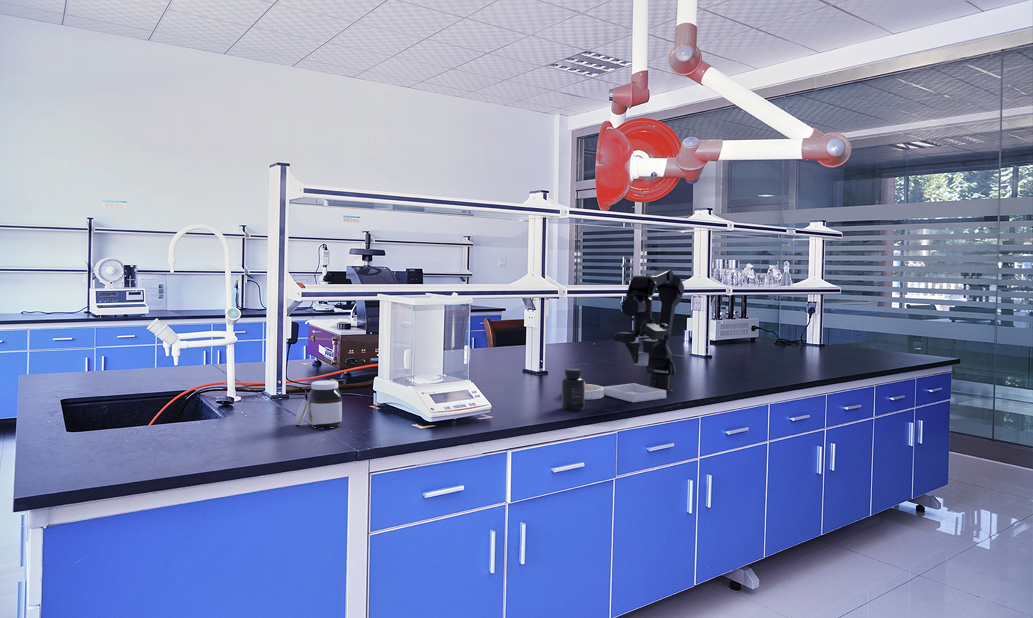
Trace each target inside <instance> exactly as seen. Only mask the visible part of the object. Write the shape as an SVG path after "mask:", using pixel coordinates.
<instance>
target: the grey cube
mask: <svg viewBox="0 0 1033 618" xmlns="http://www.w3.org/2000/svg"><path fill="white" fill-rule="evenodd" d="M648 359H649V353H648V352H644V351H638V363H637V364H635V363H634V366H639V367H646V366H648Z"/></svg>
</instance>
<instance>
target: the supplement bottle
mask: <svg viewBox="0 0 1033 618" xmlns="http://www.w3.org/2000/svg"><path fill="white" fill-rule="evenodd" d="M564 376H565V377H564V378H563V379H562V380H561V408H562V410H563V411H568V412H569V411H570V412H579V411H583V410H584V409H585V399H584V382H585V380H584V379H583V378H582V377H581V376H582V369H581V368H565V370H564Z"/></svg>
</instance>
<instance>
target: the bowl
mask: <svg viewBox="0 0 1033 618" xmlns="http://www.w3.org/2000/svg"><path fill="white" fill-rule="evenodd" d="M603 387H604V386H601V385H598V384H591V383H590V384H589V383H585V391H584V400H598V399H602V398H604V397H605V395H604V388H603Z"/></svg>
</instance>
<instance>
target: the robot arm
mask: <svg viewBox="0 0 1033 618" xmlns="http://www.w3.org/2000/svg"><path fill="white" fill-rule="evenodd" d="M656 291H657V293H658V298H659V301H660V303H661V306H660V312H659V317H658V318H659V320H658V324H656V321H655V317H654V318H652V311H653V310H652V309H653V300H654V297H653V295H654V294H655V292H656ZM684 293H685V286H684V284H683V281H682V280H681V278H679V277H678V276H677V275H676V274H674V272H673V270H670V269H658V270H656V271H655V272H652V273H649V274H647V275H633V277H632V279H630V282H629V285H628V289H627V291H626V295H625V296H626V297H627V298H626V299H624V300H623V301H622V304H621V306H620V307H621V308H620V309H621V311H622V313H623V314H624V315H625V316H627V317H630V321H631V322H633V324H632V330H631V329H630V332H627V331H619V332H618V331H617V332H615V334H614V342H620V343H622V344H625V346H626V348H627V350H628V353H629V354H630V356H631V359H632V361H633V363H634V365H635V364H637V363H638V352H640V351H639V349H640V346H641V345H642V350H643V351H642V352H648V353H649V359H648V366H645V367H646V373H647V374H651V375H650V386H649V387H653V388H657V389H661V390H666V393H667V392H674V390H673V389H671V383H672V381H671V379H672V376H675V375H676V372H677V370H676V369H677V367H676V365H675V362H674V360H673V352H672V351H671V348H670V342H671V337H672V336H671V335H672V331H673V330H672V329H673V323H674V322H673V321H674V317H675V310H676V307H677V306H678V305H679V304H680V302H681V301H682V298H683V295H684ZM640 340H642V341H641V342H640Z"/></svg>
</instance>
